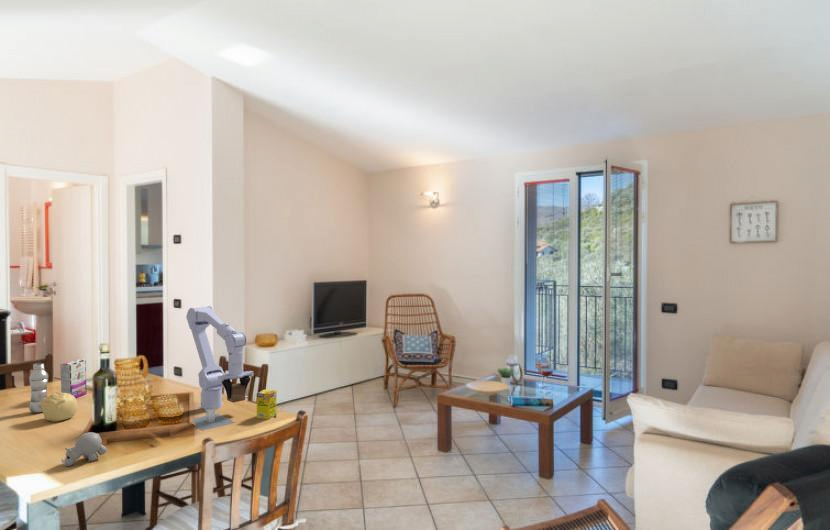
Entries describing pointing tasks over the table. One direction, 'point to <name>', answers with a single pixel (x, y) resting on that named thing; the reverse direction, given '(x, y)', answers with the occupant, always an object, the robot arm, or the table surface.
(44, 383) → the plastic bottle
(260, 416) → the supplement box
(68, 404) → the pale yellow round lump
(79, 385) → the candy bar box
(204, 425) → the slate board
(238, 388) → the walnut cap
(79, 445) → the chubby cartoon animal
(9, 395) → the table surface
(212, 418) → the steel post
